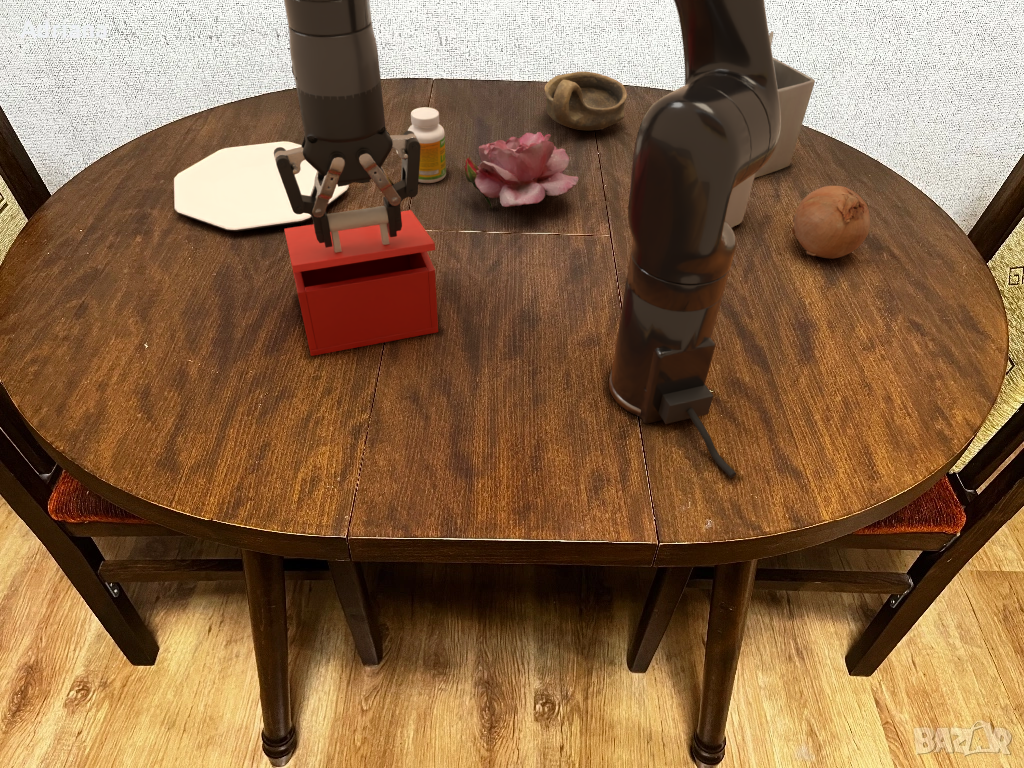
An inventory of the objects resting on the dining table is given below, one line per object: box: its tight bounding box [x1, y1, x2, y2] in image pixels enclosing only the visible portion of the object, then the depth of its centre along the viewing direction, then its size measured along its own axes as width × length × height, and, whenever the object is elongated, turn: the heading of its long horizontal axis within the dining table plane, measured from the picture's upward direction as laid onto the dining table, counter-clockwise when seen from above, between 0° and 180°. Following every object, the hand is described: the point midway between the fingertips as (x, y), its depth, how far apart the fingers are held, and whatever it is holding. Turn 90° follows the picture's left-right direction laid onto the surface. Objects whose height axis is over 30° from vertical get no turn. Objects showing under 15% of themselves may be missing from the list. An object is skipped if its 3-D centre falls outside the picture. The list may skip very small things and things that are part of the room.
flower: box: [463, 131, 579, 210], centre depth 107 cm, size 15×15×10 cm
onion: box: [791, 185, 871, 259], centre depth 100 cm, size 10×9×10 cm
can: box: [725, 174, 755, 229], centre depth 104 cm, size 8×8×12 cm
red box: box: [287, 248, 439, 357], centre depth 87 cm, size 11×15×9 cm
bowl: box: [544, 70, 628, 131], centre depth 124 cm, size 14×18×10 cm
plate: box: [173, 140, 350, 232], centre depth 110 cm, size 24×24×2 cm
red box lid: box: [283, 205, 436, 273], centre depth 82 cm, size 12×15×5 cm
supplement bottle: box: [407, 106, 447, 184], centre depth 112 cm, size 5×5×10 cm
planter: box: [754, 31, 816, 179], centre depth 114 cm, size 16×8×19 cm, turn 164°
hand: (360, 237), depth 79 cm, fingers closed on red box lid, 6 cm apart
